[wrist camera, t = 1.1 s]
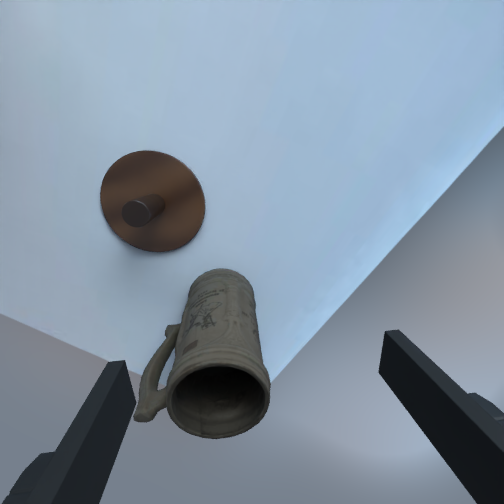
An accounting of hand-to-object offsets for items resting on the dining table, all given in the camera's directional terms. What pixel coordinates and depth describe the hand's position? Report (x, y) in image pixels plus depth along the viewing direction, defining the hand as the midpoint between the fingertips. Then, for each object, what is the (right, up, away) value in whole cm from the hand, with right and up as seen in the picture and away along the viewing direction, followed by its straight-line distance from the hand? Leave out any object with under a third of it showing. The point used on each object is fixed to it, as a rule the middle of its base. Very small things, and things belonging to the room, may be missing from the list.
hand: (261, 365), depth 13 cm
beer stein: (-8, -3, +29) cm, 30 cm away
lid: (-14, +13, +22) cm, 29 cm away
